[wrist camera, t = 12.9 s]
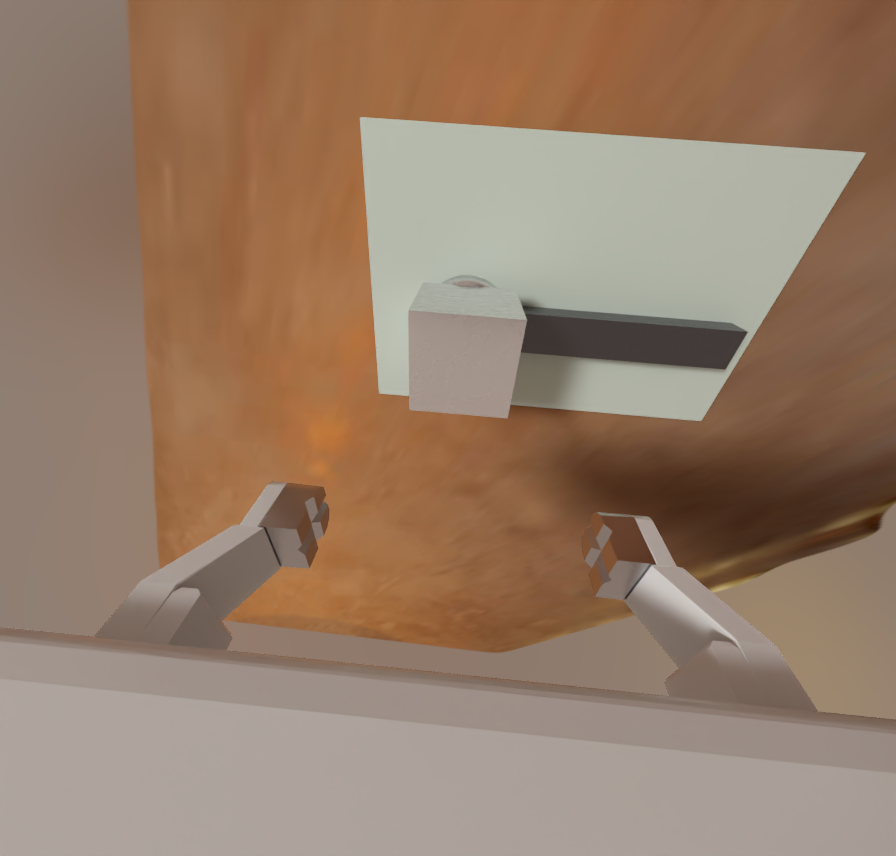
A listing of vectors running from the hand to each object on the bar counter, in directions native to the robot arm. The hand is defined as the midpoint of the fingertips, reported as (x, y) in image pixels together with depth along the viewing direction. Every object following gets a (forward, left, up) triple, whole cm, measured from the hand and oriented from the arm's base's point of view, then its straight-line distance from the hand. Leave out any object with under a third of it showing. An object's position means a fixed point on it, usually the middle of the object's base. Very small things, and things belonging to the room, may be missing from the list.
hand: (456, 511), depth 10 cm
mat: (-2, +7, -19) cm, 20 cm away
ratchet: (0, +8, -19) cm, 20 cm away
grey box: (0, 0, -16) cm, 16 cm away
